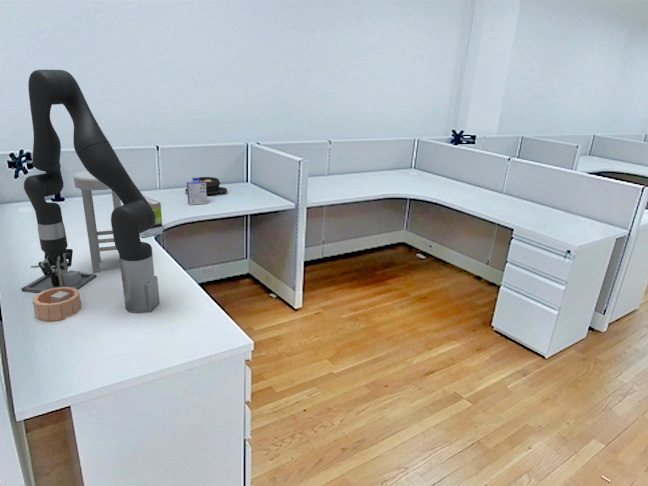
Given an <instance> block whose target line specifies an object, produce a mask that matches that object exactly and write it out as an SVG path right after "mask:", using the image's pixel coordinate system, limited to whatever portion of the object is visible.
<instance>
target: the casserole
mask: <svg viewBox="0 0 648 486" xmlns="http://www.w3.org/2000/svg"><path fill="white" fill-rule="evenodd" d="M193 180H198V179H193ZM199 181H205V182H206V195H207V196H210V195H216V194H221V193H222V194H223V193H225V192H227V191H228V189H227V188H226V187H223V186H220V184H221V182H220V180H219V178H218V177H212V176H211V177H210V176H200V177H199ZM184 190H185V192H186V193H187V188H185V189H184Z"/></svg>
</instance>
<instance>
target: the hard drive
mask: <svg viewBox="0 0 648 486" xmlns="http://www.w3.org/2000/svg"><path fill="white" fill-rule="evenodd" d="M44 257H45V253H44V252H43V253H42V254H40V255H39V256H38V258H37V259H36V260H35V261H34V262H33V263H32V265H30V268H40V266H39V265H38V263H39V262H43V261H44V259H45V258H44ZM52 266H54V265H52Z"/></svg>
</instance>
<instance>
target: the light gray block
mask: <svg viewBox="0 0 648 486" xmlns="http://www.w3.org/2000/svg"><path fill="white" fill-rule="evenodd" d="M67 271H68V272H66V273H65V274H63V278H64V284H65V287H72V288H73V287H74V286H76V285H77V284H79V283H80V282H82V281H81V274H80V273H81V271H80V270H67Z"/></svg>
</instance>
